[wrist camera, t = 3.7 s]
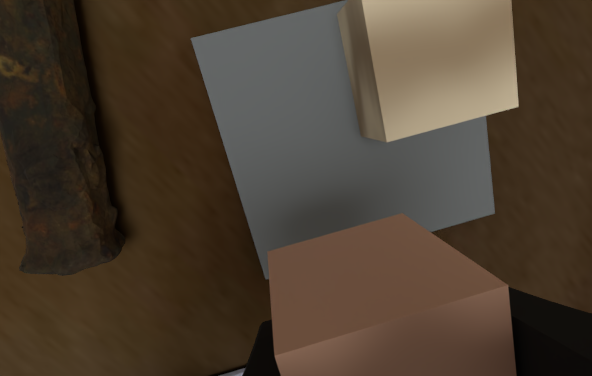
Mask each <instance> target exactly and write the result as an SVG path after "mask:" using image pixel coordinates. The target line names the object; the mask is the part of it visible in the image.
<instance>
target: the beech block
mask: <svg viewBox="0 0 592 376" xmlns="http://www.w3.org/2000/svg"><path fill="white" fill-rule="evenodd" d="M337 17H338V22H339V27H340V32H341V37H342V43H343V48H344V53H345V58H346V63H347V68H348V73H349V78H350V83H351V88H352V93H353V98H354V103H355V109H356V114H357V119H358V124H359V129H360V134H361V136H362V137H366V138H370V139H375V140H379V141H383V142H390V141H394V140H398V139H401V138H405V137H409V136H412V135H416V134H420V133H423V132H427V131H431V130H434V129H438V128H442V127H445V126H449V125H453V124H457V123H460V122H464V121H468V120H471V119H475V118H479V117H482V116H486V115H490V114H493V113H497V112H501V111H504V110H508V109H512V108H515V107H519V106H518V92H517V77H516V62H515V47H514V33H513V18H512V3H511V0H348V1H347V3H346V4H345V5H344V6H343V7H342V9H341V10H340V11H339V12H338V14H337Z"/></svg>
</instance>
